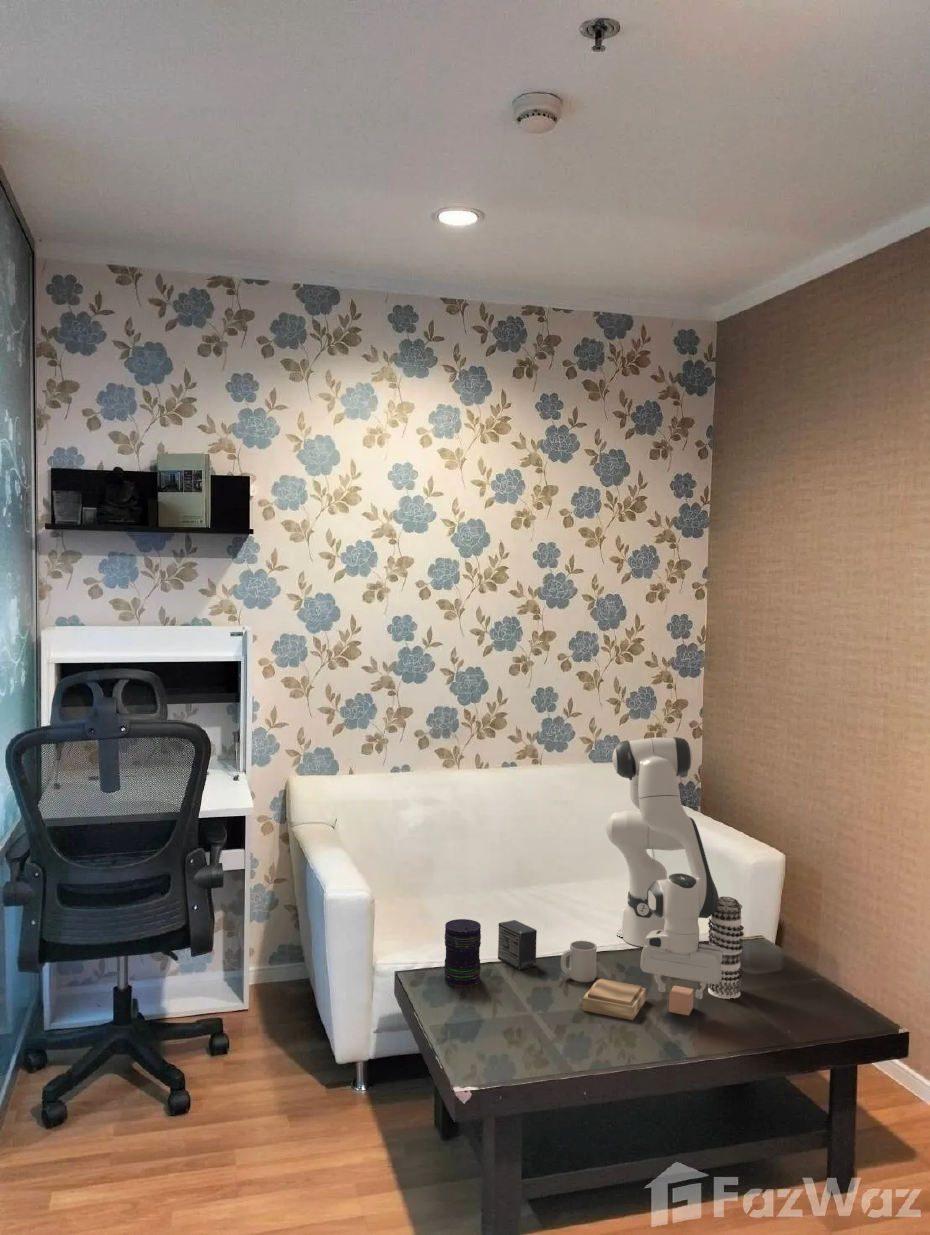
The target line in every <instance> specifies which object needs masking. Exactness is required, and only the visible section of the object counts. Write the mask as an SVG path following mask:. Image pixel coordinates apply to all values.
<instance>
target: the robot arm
mask: <svg viewBox="0 0 930 1235" xmlns="http://www.w3.org/2000/svg"><path fill="white" fill-rule="evenodd" d="M611 758H612V765H613V767H614V769H615V771H616V774H617V775H619V776H620V777H621V778H625V779H629V797H630V800H631V802H632V803H633V805H634V806H635V807H636V808H637V809H639V811H637V810H623V811H622V810H621V811H615V812H613V813H612V814H610V816H609V817H608V819H607V822H606V826H605V830H606V835H607V838H608V839H609V841H610V842H611V843H612V844H613V845H614V846H615V847H616V848H618V850H619V851H620V852H621V853H622V855H623V856H624V858H625V861H626V863H627V867H628V875H629V876H628V877H629V878H628V880H629V890H628V892H627V897H626V898H627V906H626V907H625V908H623V909H622V917H621V918H622V919H621V928H620V929H619V930H617V931H616V934H618V935H620V936H622V937H623V938H622V939H623V941H625V942H626V943H628V944H630V945H632V946H637V947H642V951H641V955H640V963H639V964H640V966H639V968H640V969H641V971H642V972H643V973H647V974H652V975H653V979H654V981H655V982H656V984H657V986H658V987H657V991H658V992H661V993H665V992H666V983H663V981H662V979H661V977H662V976H666V977H671V978H676V979H682V980H686V981H693V982H699V986H700V989H696V990H695V994H694V995H695V999H698V1000H702V999H703V991H704V990H705V988H706V987H707V986H708V983H709V984H715V985H716V984H718V983H719V982H720V981H721V978H722V969H721V963H722V961H723V953H722V951H721V950H720V949H719V948H717V946H714V945H709V944H707V943H700V926H699V919H709V918H711V915H712V914H713V913H714V912H715V911H716V909H717V908H718V905H719V897H720V896H719V893H718V888H717V887H716V884H715V882H714V880H713V877H712V874H711V871H710V867H709V863H708V860H707V856H706V852H705V847H704V844H703V842H702V838H701V835H700V831H699V829H698V826H697V823H696V821H695V820H694V819H693V818H692V817H690V816H689V815H688V814H687V813H686V811H685V809H684V807H683V805H682V801H681V792H680V787H679V781H678V777H677V776H680V775H684V774H686V773H688V772H689V771H690V769H691V765H692V763H693V751H692V748H691V746H690V744H689V742H688V741H687V740H686V739H685V738H682V737H678V736H676V737H674V736H673V737H650V738H641V739H640V738H639V739H634V740H633V739H632V740H628V739H626V740H622V741H620V742H617V743H616V744H615V746H614V750H613V752H612V757H611ZM647 850H658V851H659V850H660V851H670V852H671V851H679V850H684V852H685V854H686V858H687V863H688V866H689V869H690V873H691V875H690V874H689V875H688V874H686V873H679V872H678V873H673V874H670V875H669V876H668V872H667V869H666V867H665V865H663V864H662V863H661V862H660V861H659V860H657V859H654V858H653V857H652V856H650V854H649V853H648V851H647Z"/></svg>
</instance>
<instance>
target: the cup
mask: <svg viewBox="0 0 930 1235" xmlns="http://www.w3.org/2000/svg"><path fill="white" fill-rule="evenodd" d="M597 949H598V948H597V944H595V942H592V941H589V940H588V941H587V940H576V941H572V942H570V944H569V949H567V950H565V951H564V952H563V953H562V954H561V956H560V968H561V970H562V972H563V973H564V974H567V975H569V977H570V979H571V980H572V981H575V982H578V983H591V982H593V981H595V979H596V977H597ZM568 957H569V967H568V966H567V960H568Z"/></svg>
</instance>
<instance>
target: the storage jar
mask: <svg viewBox="0 0 930 1235" xmlns="http://www.w3.org/2000/svg"><path fill="white" fill-rule="evenodd" d="M444 926H445V928H444V929H445V930H444V946H445V958H444V966H443V967H444V968H443V970H444V981H445V983H446V982H447V983H446V984H448V983H449V984H448V985H450V984H451V985H450V986H453V985H455V986H454V987H463V988H464V987H465V986H466V987H472V986H475V985H477V984H478V983H479V982H480V981H481V977H480V975H481V959H480V947H481V944H482V942H481V939H482V934H481V933H482V932H481V927H482V925H481V923H480V922H478V921H476V920H473V919H466V918H460V919H458V918H457V919H452V920H449V921H447V922H446V923H445V925H444ZM476 983H477V984H476ZM474 984H475V985H474Z"/></svg>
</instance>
